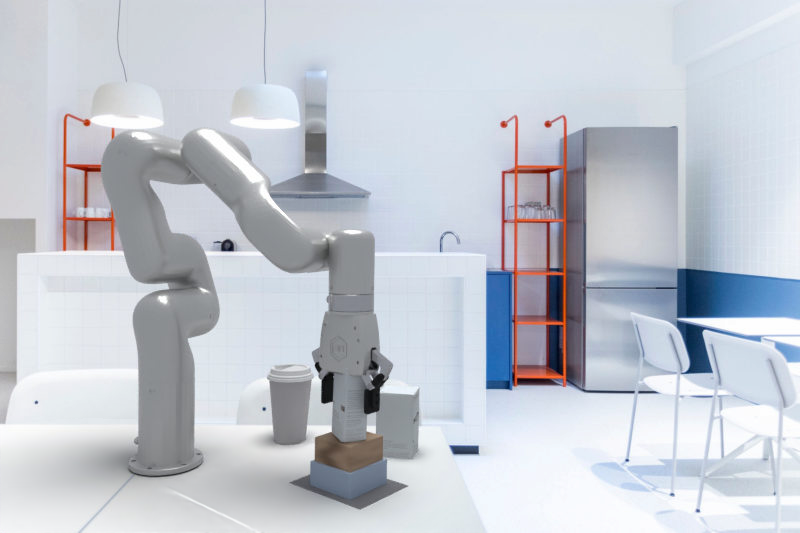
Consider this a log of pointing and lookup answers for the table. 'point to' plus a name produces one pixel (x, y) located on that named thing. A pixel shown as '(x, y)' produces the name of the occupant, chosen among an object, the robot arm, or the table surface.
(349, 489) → the tower base
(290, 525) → the table surface
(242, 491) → the table surface
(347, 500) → the mat
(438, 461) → the table surface
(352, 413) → the skincare box
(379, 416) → the supplement box
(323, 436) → the tower top
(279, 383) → the coffee cup
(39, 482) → the table surface
